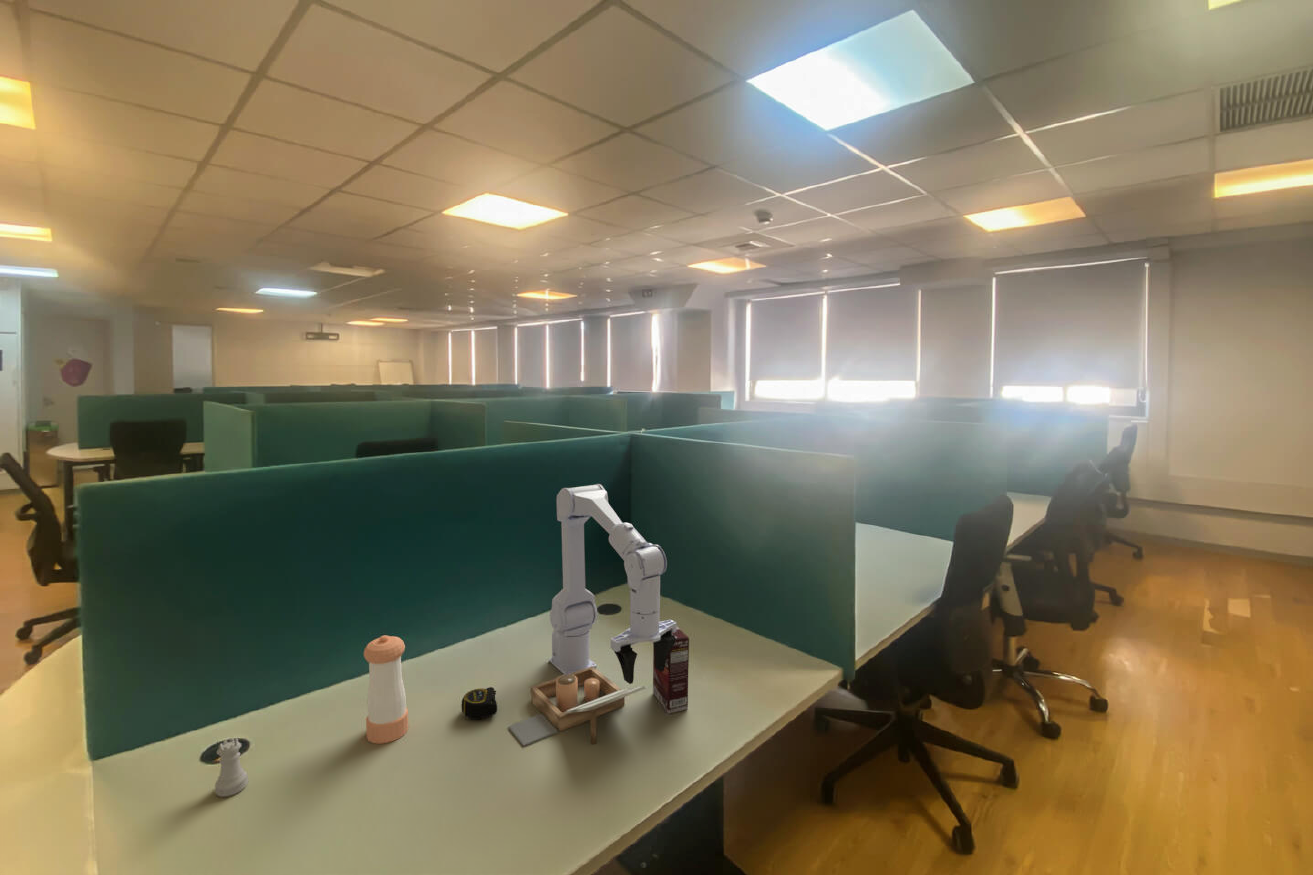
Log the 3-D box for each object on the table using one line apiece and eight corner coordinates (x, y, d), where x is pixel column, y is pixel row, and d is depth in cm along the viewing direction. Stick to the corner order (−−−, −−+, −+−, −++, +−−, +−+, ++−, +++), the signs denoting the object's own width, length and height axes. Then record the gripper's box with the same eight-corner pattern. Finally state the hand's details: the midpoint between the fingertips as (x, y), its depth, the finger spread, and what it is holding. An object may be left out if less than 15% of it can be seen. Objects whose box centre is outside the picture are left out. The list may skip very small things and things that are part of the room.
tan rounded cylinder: (581, 696, 122) (581, 681, 121) (594, 691, 124) (594, 676, 123) (589, 703, 119) (589, 687, 119) (602, 698, 121) (602, 683, 121)
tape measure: (497, 719, 113) (497, 701, 113) (461, 725, 111) (461, 707, 111) (496, 700, 120) (496, 684, 120) (461, 706, 118) (461, 689, 117)
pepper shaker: (416, 723, 111) (413, 630, 109) (390, 746, 104) (386, 647, 102) (385, 717, 113) (382, 625, 111) (357, 739, 106) (353, 642, 104)
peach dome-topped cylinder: (552, 705, 118) (552, 677, 118) (571, 698, 121) (570, 671, 120) (562, 716, 115) (562, 686, 114) (581, 708, 117) (581, 680, 117)
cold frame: (530, 700, 120) (530, 660, 119) (592, 678, 129) (592, 640, 128) (584, 757, 102) (584, 710, 101) (651, 727, 111) (651, 683, 110)
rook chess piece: (244, 775, 97) (240, 730, 96) (252, 787, 94) (249, 741, 93) (211, 789, 93) (208, 744, 92) (219, 802, 91) (215, 755, 90)
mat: (508, 727, 111) (508, 725, 111) (541, 715, 115) (541, 713, 115) (523, 746, 105) (523, 744, 105) (557, 732, 109) (557, 730, 109)
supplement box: (651, 693, 123) (652, 623, 122) (671, 688, 125) (673, 619, 124) (667, 715, 115) (668, 640, 114) (688, 710, 117) (690, 636, 116)
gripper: (625, 625, 102) (625, 696, 104) (686, 606, 111) (685, 672, 113) (604, 612, 108) (604, 680, 109) (664, 595, 117) (663, 658, 118)
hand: (644, 675), depth 111 cm, fingers open, 7 cm apart
